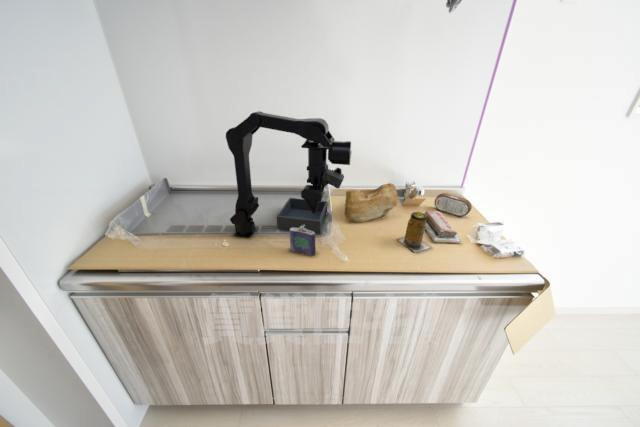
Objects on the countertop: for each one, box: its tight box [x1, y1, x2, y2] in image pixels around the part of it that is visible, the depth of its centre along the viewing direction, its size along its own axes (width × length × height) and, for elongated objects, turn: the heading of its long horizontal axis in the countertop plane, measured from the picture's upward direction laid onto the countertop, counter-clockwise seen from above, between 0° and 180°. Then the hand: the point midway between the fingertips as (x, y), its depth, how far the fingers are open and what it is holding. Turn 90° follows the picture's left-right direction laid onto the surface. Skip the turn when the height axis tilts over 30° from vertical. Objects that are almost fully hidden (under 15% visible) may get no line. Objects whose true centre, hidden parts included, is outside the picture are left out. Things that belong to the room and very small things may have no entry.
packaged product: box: [424, 210, 462, 244], centre depth 96 cm, size 18×5×10 cm
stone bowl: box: [343, 182, 399, 223], centre depth 106 cm, size 23×17×15 cm
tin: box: [434, 192, 473, 218], centre depth 109 cm, size 15×3×8 cm, turn 49°
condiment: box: [398, 211, 430, 253], centre depth 86 cm, size 7×8×12 cm
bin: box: [275, 197, 329, 235], centre depth 101 cm, size 18×18×6 cm
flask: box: [288, 225, 317, 257], centre depth 81 cm, size 9×3×11 cm, turn 71°
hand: (316, 206), depth 82 cm, fingers open, 9 cm apart
